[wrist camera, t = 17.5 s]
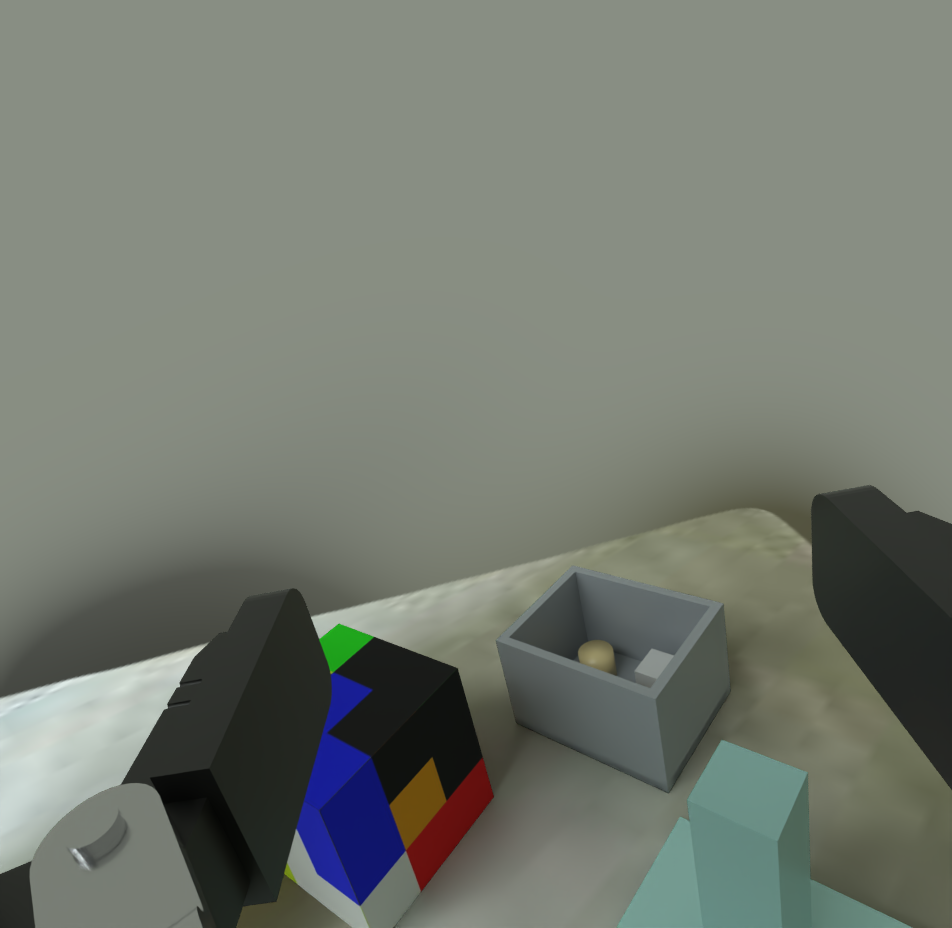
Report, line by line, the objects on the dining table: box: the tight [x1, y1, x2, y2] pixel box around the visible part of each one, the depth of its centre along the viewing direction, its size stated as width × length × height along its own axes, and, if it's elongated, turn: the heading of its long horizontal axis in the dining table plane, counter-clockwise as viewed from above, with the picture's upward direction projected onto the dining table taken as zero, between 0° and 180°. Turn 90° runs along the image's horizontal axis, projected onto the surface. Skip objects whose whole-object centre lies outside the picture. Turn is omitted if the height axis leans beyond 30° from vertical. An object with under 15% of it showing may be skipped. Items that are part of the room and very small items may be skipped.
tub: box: [496, 566, 731, 793], centre depth 44 cm, size 11×9×7 cm
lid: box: [616, 740, 912, 928], centre depth 27 cm, size 12×10×12 cm
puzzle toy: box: [284, 624, 494, 928], centre depth 39 cm, size 10×10×10 cm
